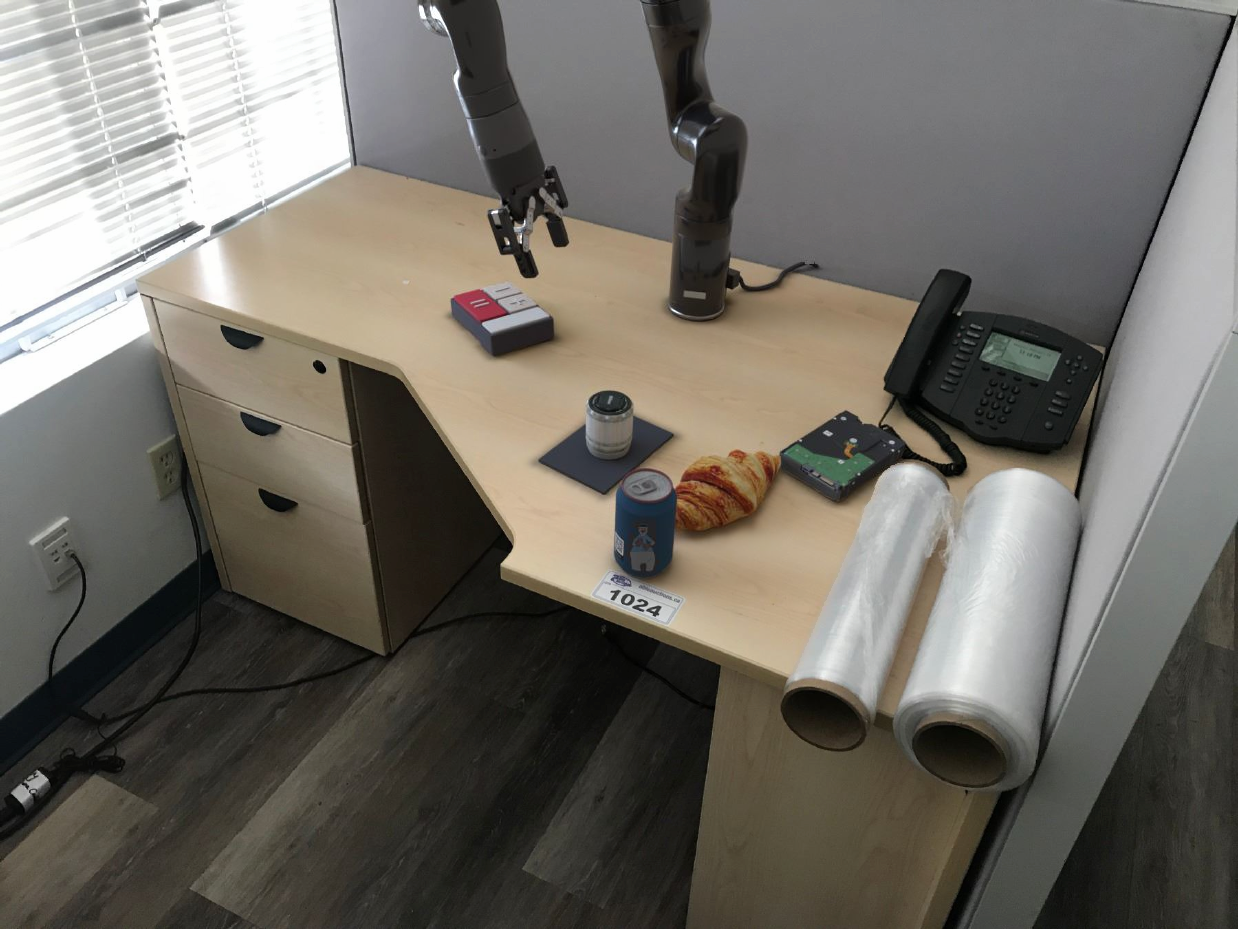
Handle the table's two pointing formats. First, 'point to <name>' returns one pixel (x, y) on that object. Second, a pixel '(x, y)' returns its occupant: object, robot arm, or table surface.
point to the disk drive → (841, 455)
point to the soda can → (645, 523)
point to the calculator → (502, 318)
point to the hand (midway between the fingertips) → (547, 261)
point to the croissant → (723, 488)
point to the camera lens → (609, 424)
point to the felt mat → (600, 472)
